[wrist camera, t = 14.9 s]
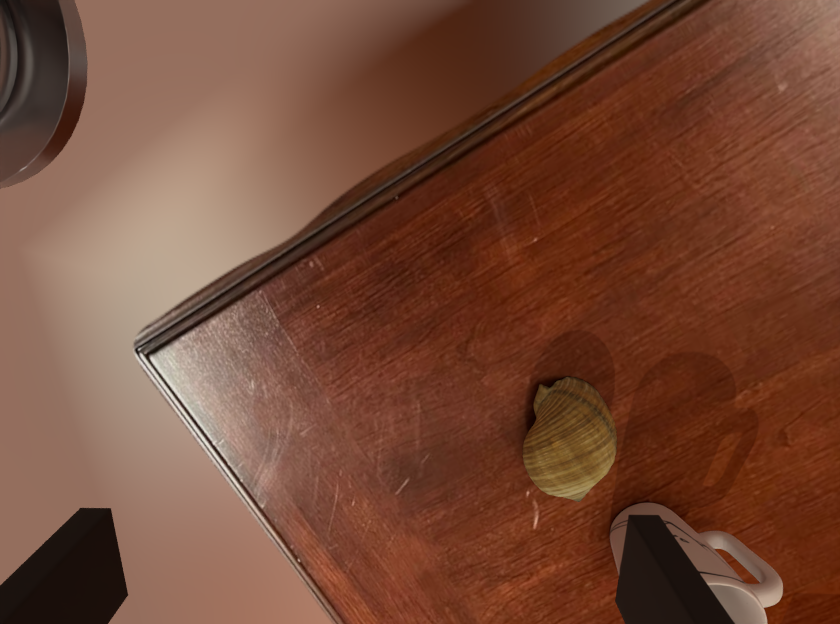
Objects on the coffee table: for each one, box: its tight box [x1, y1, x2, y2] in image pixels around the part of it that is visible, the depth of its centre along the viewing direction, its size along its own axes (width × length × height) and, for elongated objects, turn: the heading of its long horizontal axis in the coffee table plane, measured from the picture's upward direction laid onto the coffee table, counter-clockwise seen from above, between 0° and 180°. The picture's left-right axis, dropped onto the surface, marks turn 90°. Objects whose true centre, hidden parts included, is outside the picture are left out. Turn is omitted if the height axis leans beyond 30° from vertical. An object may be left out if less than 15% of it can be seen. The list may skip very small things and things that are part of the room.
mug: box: [610, 503, 783, 624], centre depth 38 cm, size 11×8×10 cm
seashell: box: [522, 377, 617, 502], centre depth 38 cm, size 10×7×8 cm
